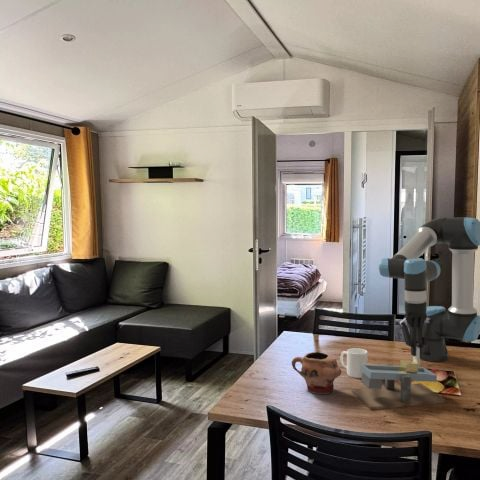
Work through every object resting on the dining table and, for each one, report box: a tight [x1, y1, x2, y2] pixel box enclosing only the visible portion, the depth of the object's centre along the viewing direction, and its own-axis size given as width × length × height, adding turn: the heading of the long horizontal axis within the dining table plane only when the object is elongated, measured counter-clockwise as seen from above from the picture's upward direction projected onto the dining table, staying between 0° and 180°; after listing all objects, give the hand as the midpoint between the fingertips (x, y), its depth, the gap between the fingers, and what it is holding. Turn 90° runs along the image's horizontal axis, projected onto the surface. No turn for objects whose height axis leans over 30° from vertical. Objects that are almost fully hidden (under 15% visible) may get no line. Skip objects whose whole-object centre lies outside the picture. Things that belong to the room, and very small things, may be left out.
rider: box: [399, 359, 419, 374], centre depth 176 cm, size 4×4×4 cm
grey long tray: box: [360, 363, 438, 389], centre depth 176 cm, size 26×9×6 cm, turn 101°
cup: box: [339, 347, 368, 379], centre depth 201 cm, size 8×12×10 cm
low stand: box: [351, 364, 447, 411], centre depth 177 cm, size 29×16×10 cm, turn 100°
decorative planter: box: [291, 351, 342, 395], centre depth 184 cm, size 20×12×14 cm, turn 65°
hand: (416, 364), depth 177 cm, fingers closed
